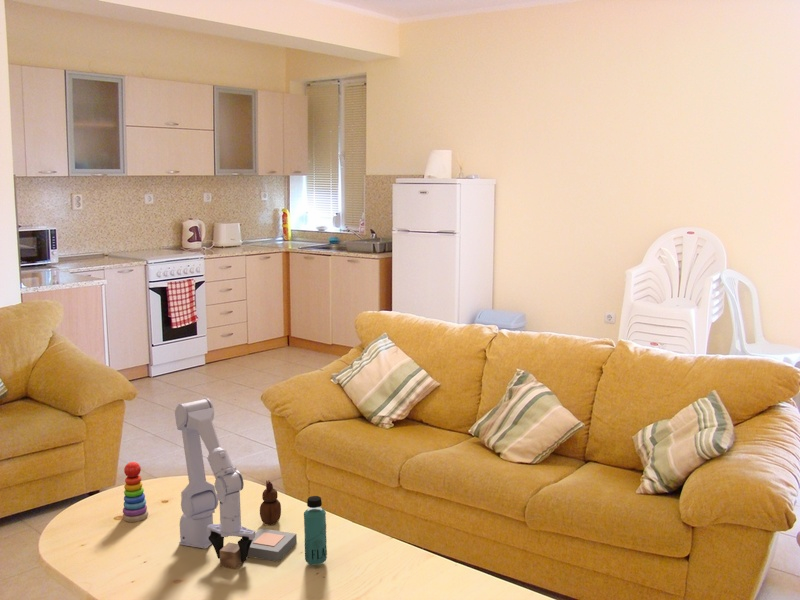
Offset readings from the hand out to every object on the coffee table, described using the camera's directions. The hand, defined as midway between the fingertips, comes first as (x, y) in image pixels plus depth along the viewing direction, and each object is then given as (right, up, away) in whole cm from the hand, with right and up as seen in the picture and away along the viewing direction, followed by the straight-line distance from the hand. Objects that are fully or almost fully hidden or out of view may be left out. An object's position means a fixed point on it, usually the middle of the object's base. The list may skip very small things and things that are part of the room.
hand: (232, 558), depth 219 cm
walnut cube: (0, -2, 0) cm, 2 cm away
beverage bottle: (+24, -2, 0) cm, 24 cm away
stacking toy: (-38, +3, +31) cm, 49 cm away
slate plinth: (+9, 0, +9) cm, 13 cm away
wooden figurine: (+7, +2, +26) cm, 27 cm away
